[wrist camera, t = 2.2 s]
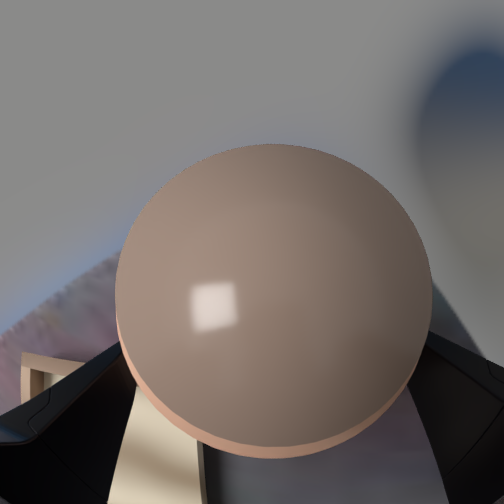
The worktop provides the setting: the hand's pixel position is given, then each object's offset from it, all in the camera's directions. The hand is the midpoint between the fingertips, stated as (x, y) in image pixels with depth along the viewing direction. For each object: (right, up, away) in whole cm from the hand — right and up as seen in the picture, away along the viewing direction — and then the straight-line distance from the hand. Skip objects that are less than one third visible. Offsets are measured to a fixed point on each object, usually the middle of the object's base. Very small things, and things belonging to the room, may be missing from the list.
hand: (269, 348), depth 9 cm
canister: (0, -3, +8) cm, 8 cm away
